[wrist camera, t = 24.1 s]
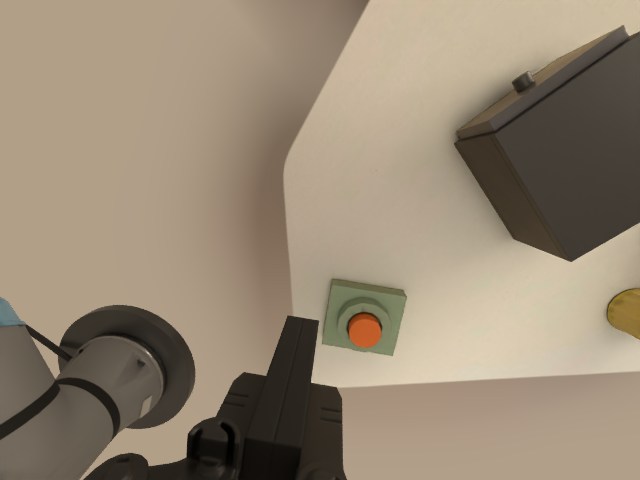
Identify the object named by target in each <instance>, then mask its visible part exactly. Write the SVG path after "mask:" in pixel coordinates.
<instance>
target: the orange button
mask: <svg viewBox="0 0 640 480" xmlns="http://www.w3.org/2000/svg"><path fill="white" fill-rule="evenodd" d="M349 336H350V339H351V341H352V342H353V343H354V344H355V345H357V346H359V347H363V348H368V347H372V346H374V345H375V344H377V343H378V341H379V340H380V338H381V329H380V325H379V322H378V320H377V319H376V318H375V317H374V316H373V315H371V314H368V313H360V314H357V315H355V316H354V317H353V318H352V319H351V320H350V323H349Z"/></svg>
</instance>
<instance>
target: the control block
mask: <svg viewBox="0 0 640 480" xmlns="http://www.w3.org/2000/svg"><path fill="white" fill-rule="evenodd" d="M406 299H407V296H406V294H405V293H404V291H403V290H397V289H391V288H385V287H379V286H373V285H367V284H361V283H354V282H348V281H342V280H336V279H332V284H331V290H330V296H329V302H328V308H327V313H326V319H325V325H324V331H323V338H322V344H325V345H331V346H337V347H343V348H349V349H352V350H356V351H362V352H372V353H378V354H384V355H390V356H393V354H394V349H395V345H396V341H397V337H398V332H399V328H400V324H401V320H402V316H403V311H404V307H405V303H406ZM360 313H368V314H371V315H373V316H374V317H375V318H376V319H377V320H378V322H379V325H380V329H381V338H380V340H379V341H378V343H377V344H375V345H374V346H372V347H368V348H363V347H359V346H357V345H355V344H354V343H353V342H352V341H351V339H350V336H349V323H350V320H351V319H352V318H353V317H354V316H355V315H357V314H360Z"/></svg>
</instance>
